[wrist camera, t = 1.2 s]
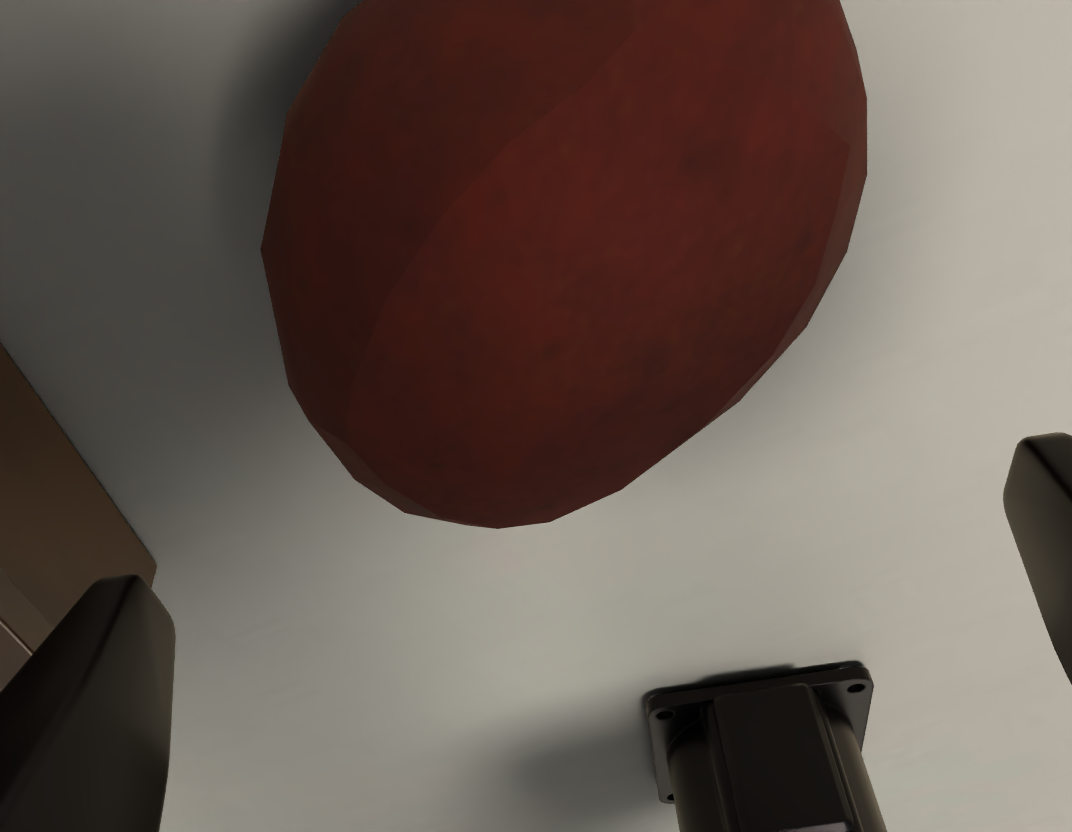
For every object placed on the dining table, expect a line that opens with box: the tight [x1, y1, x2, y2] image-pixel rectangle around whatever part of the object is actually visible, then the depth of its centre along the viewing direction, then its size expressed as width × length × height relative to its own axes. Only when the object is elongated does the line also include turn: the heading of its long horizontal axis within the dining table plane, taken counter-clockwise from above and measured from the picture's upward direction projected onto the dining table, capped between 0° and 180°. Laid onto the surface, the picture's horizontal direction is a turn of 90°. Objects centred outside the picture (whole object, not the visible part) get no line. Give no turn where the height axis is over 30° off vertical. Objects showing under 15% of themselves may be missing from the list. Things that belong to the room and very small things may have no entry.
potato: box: [261, 0, 867, 529], centre depth 13 cm, size 7×10×6 cm
